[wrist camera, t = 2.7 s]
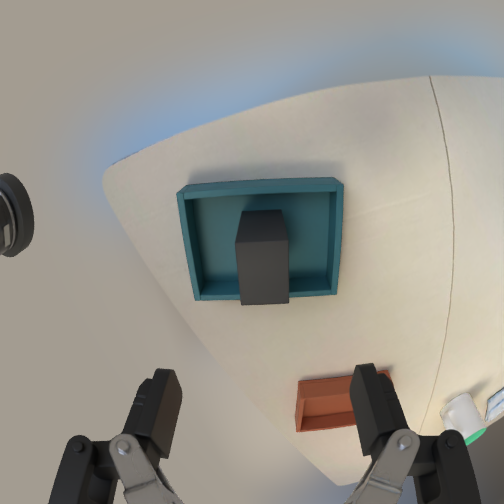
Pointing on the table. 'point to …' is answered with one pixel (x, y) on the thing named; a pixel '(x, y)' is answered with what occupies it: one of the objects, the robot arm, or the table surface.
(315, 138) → the table surface
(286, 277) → the block
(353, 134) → the table surface
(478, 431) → the mug
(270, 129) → the table surface
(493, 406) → the light blue folded towel
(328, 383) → the terracotta bin
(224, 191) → the teal bin
